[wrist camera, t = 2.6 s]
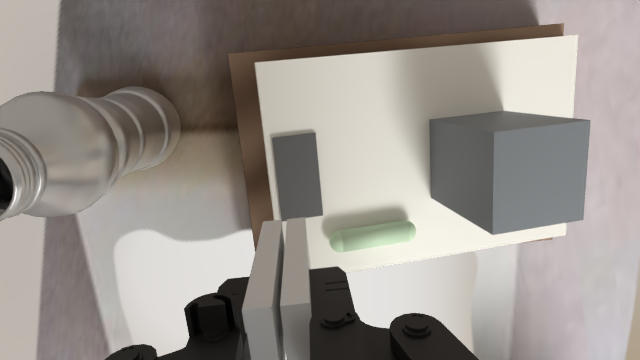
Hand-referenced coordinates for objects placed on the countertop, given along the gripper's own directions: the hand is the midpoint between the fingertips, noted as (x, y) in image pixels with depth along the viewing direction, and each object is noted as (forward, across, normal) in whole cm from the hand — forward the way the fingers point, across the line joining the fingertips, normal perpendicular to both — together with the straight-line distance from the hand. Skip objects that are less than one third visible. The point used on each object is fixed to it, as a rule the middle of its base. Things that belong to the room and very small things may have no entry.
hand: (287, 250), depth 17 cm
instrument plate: (+15, -10, 0) cm, 18 cm away
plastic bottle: (+21, +12, -4) cm, 24 cm away
